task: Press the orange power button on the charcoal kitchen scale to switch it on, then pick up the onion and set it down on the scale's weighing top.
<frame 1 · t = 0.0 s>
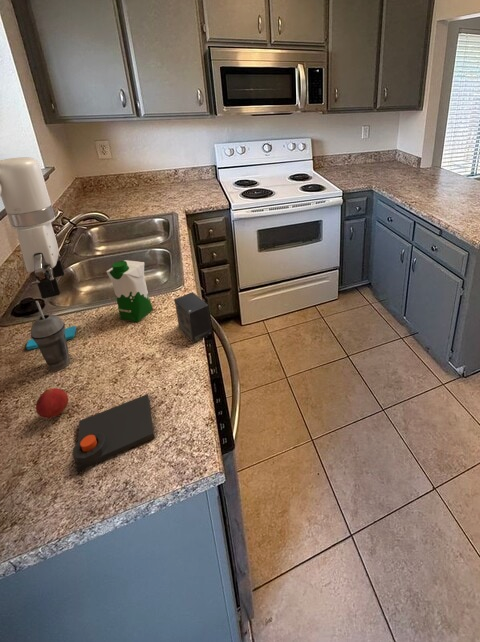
hand: (54, 285, 82), 29 cm above the counter, tool pointing down, fingers open, 9 cm apart
beverage cup: (60, 365, 98), on the counter
small box: (195, 331, 110), on the counter
scale: (117, 431, 78), on the counter
milk carton: (137, 314, 118), on the counter
power button: (88, 443, 72), point 3 cm above the counter, slide at 0.1 cm
onion: (56, 415, 83), on the counter
sponge: (52, 339, 108), on the counter
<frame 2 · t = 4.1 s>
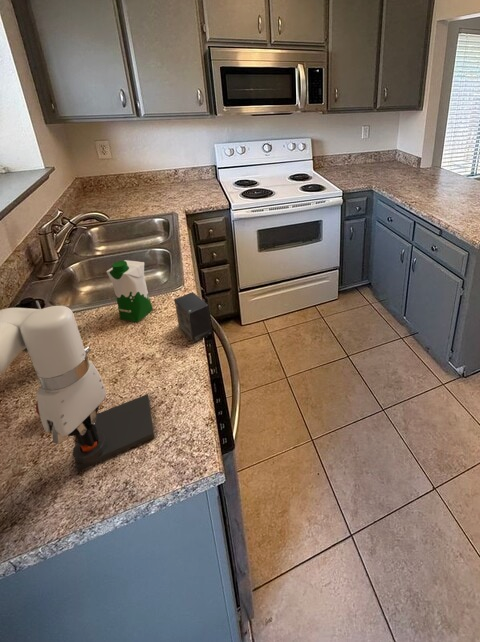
hand: (89, 441, 72), 4 cm above the counter, tool pointing down, fingers closed
power button: (89, 444, 72), point 3 cm above the counter, slide at -0.2 cm, touching gripper
everything else where it was.
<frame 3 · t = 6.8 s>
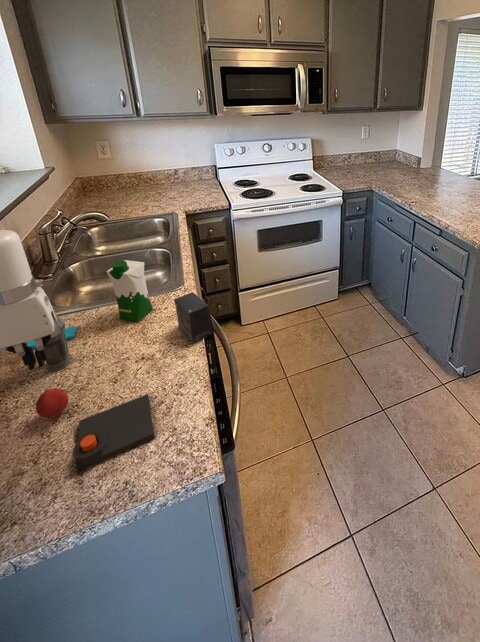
hand: (37, 364, 77), 15 cm above the counter, tool pointing down, fingers closed
power button: (88, 443, 72), point 3 cm above the counter, slide at 0.1 cm
everything else where it was.
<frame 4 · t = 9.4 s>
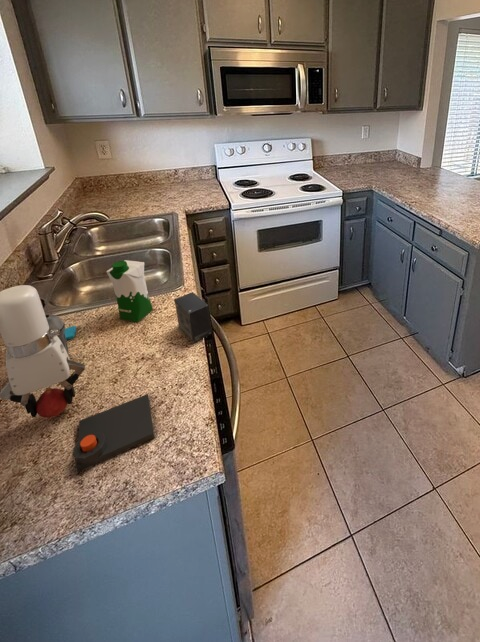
hand: (53, 405, 81), 3 cm above the counter, tool pointing down, fingers closed on onion, 6 cm apart
onion: (56, 415, 83), on the counter, touching gripper
everything else where it was.
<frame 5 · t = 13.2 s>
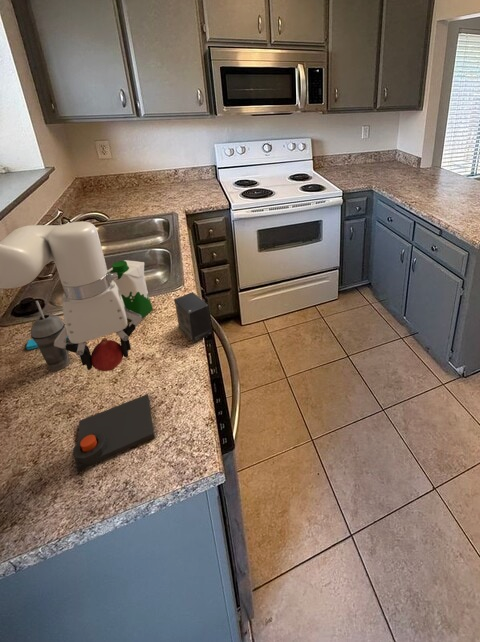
hand: (108, 358, 75), 18 cm above the counter, tool pointing down, fingers closed on onion, 6 cm apart
onion: (111, 370, 76), point 14 cm above the counter, touching gripper
everything else where it was.
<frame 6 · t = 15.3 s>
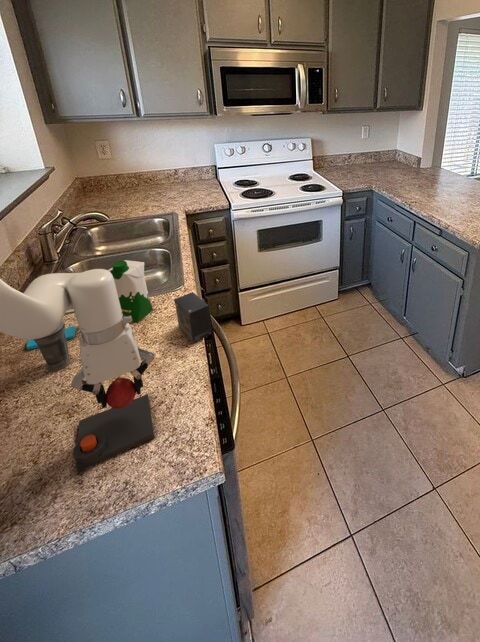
hand: (121, 395, 78), 7 cm above the counter, tool pointing down, fingers closed on onion, 6 cm apart
onion: (124, 406, 79), point 4 cm above the counter, touching gripper
everything else where it was.
when the fingers open (4 cm above the counter, at t = 16.8 s): onion stays where it is, resting on scale.
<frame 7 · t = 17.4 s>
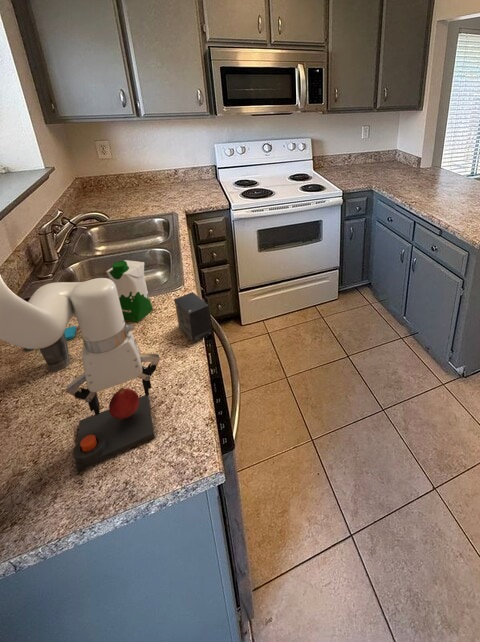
hand: (123, 400, 79), 6 cm above the counter, tool pointing down, fingers open, 9 cm apart
onion: (127, 416, 80), point 1 cm above the counter, touching scale
everything else where it was.
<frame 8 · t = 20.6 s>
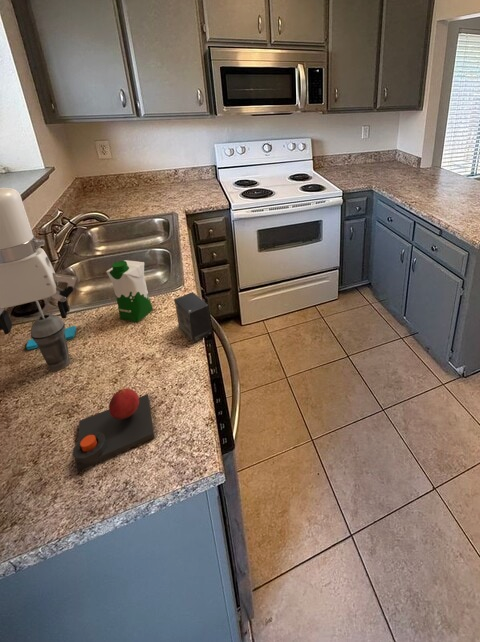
hand: (37, 322, 76), 24 cm above the counter, tool pointing down, fingers open, 9 cm apart
nothing on the counter moved.
at the end: power button pushed in 0.9 cm at the most during the clip, back to where it started at the end; power button slide at 0.1 cm; onion inside the target area on the scale (0.1 cm from its centre), point 1.2 cm above the scale's base; onion touching scale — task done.
